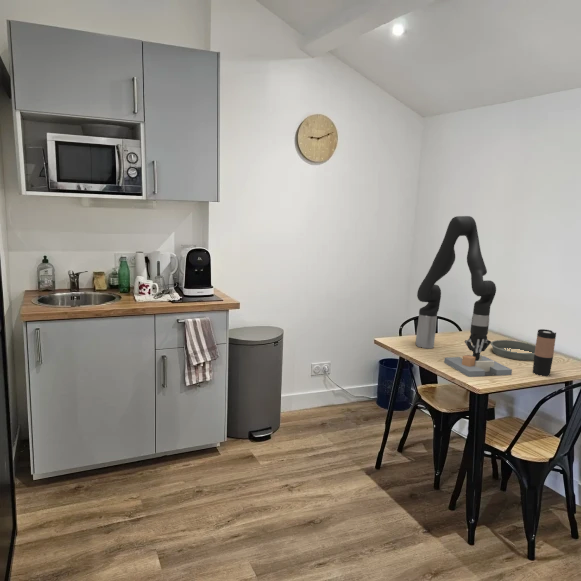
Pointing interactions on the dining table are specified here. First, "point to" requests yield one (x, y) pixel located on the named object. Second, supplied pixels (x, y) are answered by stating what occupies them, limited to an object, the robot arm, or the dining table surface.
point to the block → (468, 360)
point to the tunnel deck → (479, 367)
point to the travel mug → (544, 352)
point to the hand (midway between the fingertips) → (475, 360)
